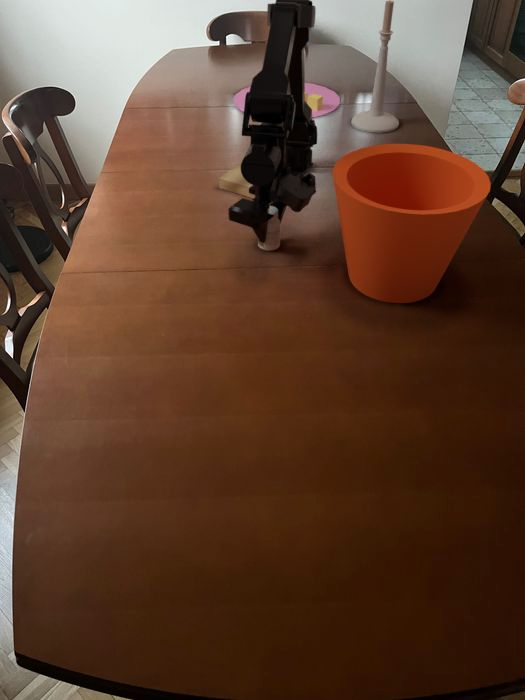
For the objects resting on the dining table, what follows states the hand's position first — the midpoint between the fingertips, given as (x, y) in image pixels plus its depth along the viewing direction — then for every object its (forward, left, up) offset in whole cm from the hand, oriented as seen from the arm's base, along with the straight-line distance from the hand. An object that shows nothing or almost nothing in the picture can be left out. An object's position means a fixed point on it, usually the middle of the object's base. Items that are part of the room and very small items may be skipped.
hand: (268, 236), depth 115 cm
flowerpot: (+25, +3, -2) cm, 25 cm away
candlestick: (-8, +68, -2) cm, 69 cm away
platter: (-38, +71, -2) cm, 81 cm away
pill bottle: (0, 0, -2) cm, 2 cm away
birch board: (-17, +20, -2) cm, 26 cm away
